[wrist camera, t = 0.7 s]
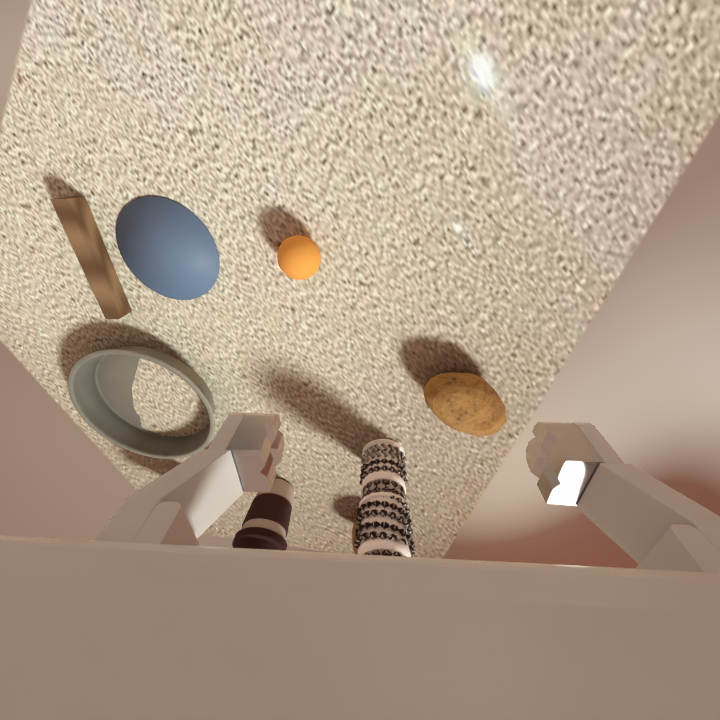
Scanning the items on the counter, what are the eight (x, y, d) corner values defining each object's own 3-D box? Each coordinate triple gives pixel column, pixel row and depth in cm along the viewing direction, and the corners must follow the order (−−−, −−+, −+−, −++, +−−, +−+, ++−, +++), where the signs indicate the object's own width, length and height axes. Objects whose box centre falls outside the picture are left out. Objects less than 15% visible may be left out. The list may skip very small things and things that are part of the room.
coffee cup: (304, 480, 70) (288, 551, 58) (294, 505, 76) (276, 576, 63) (259, 467, 69) (232, 538, 56) (252, 494, 74) (225, 564, 62)
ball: (280, 231, 43) (268, 240, 39) (322, 231, 43) (314, 240, 38) (286, 272, 46) (275, 285, 42) (324, 272, 46) (318, 285, 41)
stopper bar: (70, 196, 42) (50, 199, 40) (84, 196, 42) (65, 199, 40) (119, 310, 51) (105, 318, 48) (131, 310, 51) (118, 319, 48)
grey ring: (141, 450, 69) (127, 467, 65) (56, 352, 56) (33, 367, 53) (246, 432, 64) (237, 450, 60) (179, 322, 52) (163, 335, 48)
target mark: (99, 196, 42) (98, 196, 42) (204, 195, 42) (203, 196, 41) (139, 298, 50) (138, 299, 50) (229, 299, 49) (228, 300, 49)
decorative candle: (413, 443, 63) (430, 590, 42) (397, 473, 68) (404, 618, 46) (368, 431, 62) (362, 575, 41) (354, 463, 67) (342, 606, 45)
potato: (443, 344, 51) (453, 373, 44) (509, 385, 55) (527, 418, 48) (406, 386, 56) (409, 418, 49) (469, 421, 59) (480, 455, 52)
